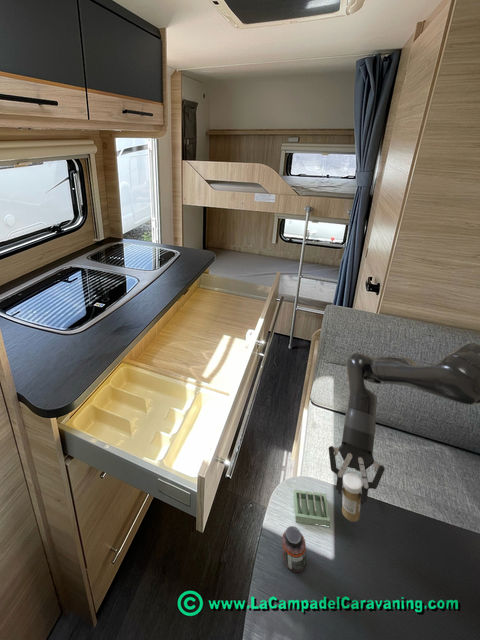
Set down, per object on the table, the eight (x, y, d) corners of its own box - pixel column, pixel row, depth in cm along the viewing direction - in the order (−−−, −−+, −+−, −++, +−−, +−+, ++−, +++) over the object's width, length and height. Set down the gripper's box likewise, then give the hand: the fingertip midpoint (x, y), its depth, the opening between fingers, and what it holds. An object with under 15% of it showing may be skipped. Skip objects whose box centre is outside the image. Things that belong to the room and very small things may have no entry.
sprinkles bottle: (363, 516, 88) (366, 483, 83) (351, 526, 86) (353, 492, 81) (349, 501, 92) (351, 468, 87) (337, 510, 90) (338, 477, 85)
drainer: (325, 500, 101) (325, 493, 100) (330, 527, 94) (330, 520, 93) (293, 495, 103) (293, 489, 102) (295, 522, 97) (295, 515, 96)
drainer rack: (320, 502, 100) (321, 492, 99) (323, 521, 95) (323, 511, 94) (299, 499, 102) (299, 490, 100) (300, 517, 97) (300, 508, 96)
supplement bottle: (282, 545, 92) (281, 519, 88) (304, 548, 90) (304, 522, 86) (283, 571, 86) (282, 545, 82) (307, 575, 85) (306, 549, 81)
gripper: (329, 419, 90) (319, 487, 85) (389, 439, 82) (382, 516, 77) (333, 419, 96) (323, 483, 91) (389, 437, 88) (382, 509, 83)
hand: (350, 497), depth 84 cm, fingers closed on sprinkles bottle, 4 cm apart
